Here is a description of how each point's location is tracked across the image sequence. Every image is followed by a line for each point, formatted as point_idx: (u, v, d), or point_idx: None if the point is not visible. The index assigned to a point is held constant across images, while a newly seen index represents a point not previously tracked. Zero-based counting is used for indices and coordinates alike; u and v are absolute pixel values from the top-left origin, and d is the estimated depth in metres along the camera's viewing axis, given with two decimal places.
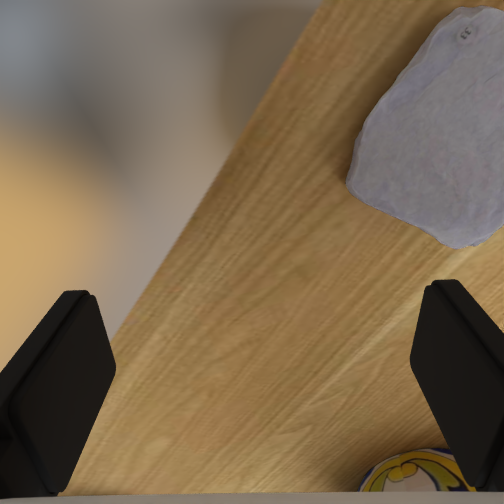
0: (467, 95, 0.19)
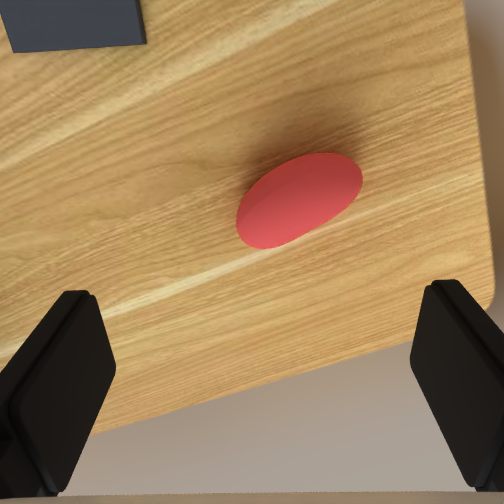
0: None
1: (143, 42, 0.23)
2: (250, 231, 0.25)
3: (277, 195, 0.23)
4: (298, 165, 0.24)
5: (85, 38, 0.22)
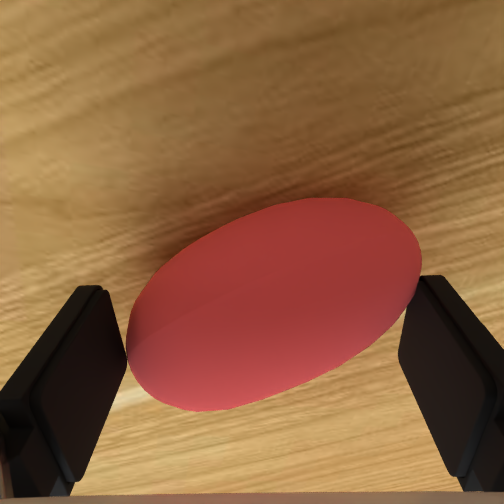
0: None
1: None
2: (145, 384, 0.10)
3: (200, 320, 0.09)
4: (261, 238, 0.09)
5: None
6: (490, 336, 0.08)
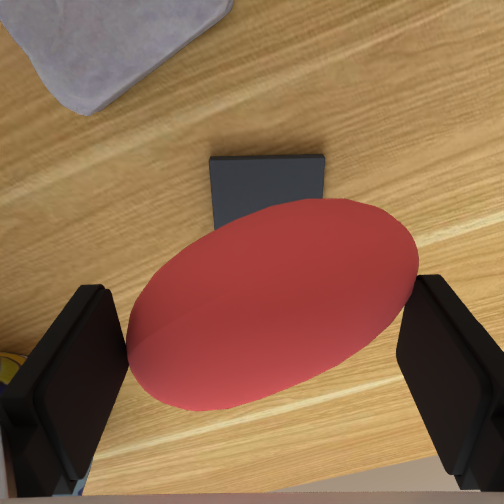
0: None
1: None
2: (145, 384, 0.10)
3: (199, 320, 0.09)
4: (260, 238, 0.09)
5: None
6: (487, 335, 0.08)
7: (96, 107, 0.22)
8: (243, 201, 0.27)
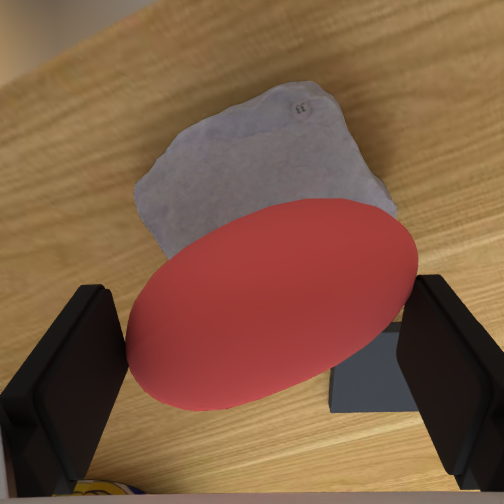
0: (275, 169, 0.17)
1: None
2: (144, 384, 0.10)
3: (198, 320, 0.09)
4: (259, 238, 0.09)
5: (392, 408, 0.28)
6: (487, 335, 0.08)
7: None
8: (367, 366, 0.26)
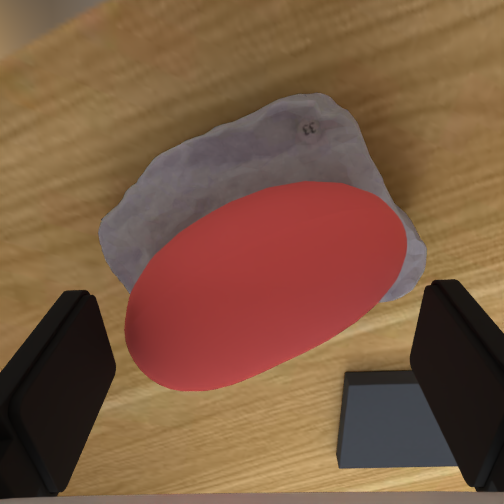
0: None
1: None
2: (142, 360, 0.11)
3: (196, 284, 0.09)
4: (254, 209, 0.09)
5: (409, 463, 0.25)
6: None
7: None
8: (382, 420, 0.23)
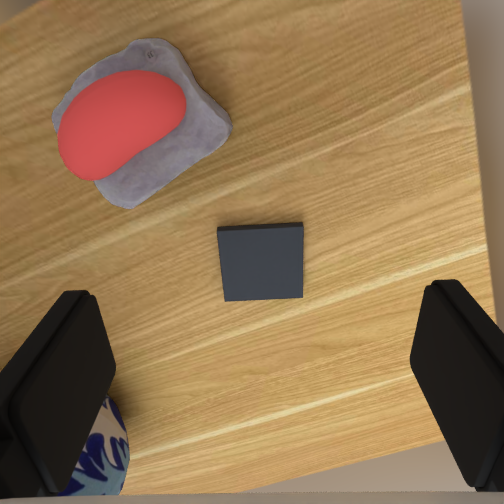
0: None
1: (302, 295, 0.38)
2: (63, 151, 0.24)
3: (79, 105, 0.22)
4: (105, 77, 0.23)
5: (270, 295, 0.38)
6: None
7: (136, 205, 0.30)
8: (243, 258, 0.36)
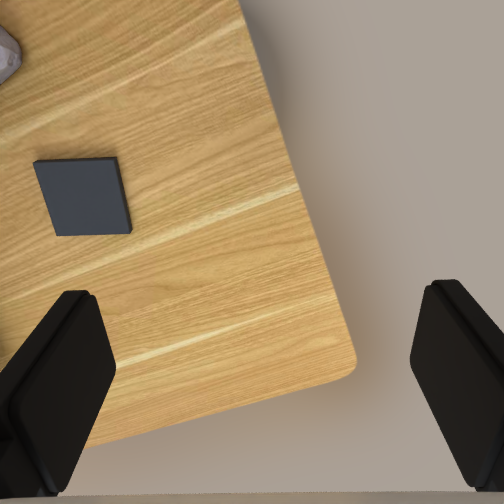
0: None
1: (130, 232, 0.40)
2: None
3: None
4: None
5: (98, 230, 0.40)
6: None
7: None
8: (64, 192, 0.38)
